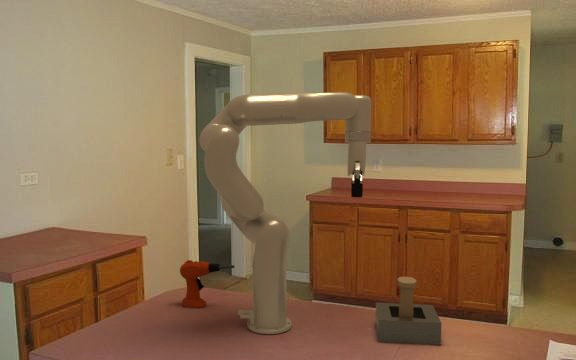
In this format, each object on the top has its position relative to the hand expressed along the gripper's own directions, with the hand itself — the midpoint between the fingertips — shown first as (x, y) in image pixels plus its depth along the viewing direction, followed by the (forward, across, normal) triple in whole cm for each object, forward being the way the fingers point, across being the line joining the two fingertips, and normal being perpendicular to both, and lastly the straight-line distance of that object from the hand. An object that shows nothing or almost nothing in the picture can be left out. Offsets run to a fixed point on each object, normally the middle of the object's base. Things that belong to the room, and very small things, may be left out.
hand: (356, 195), depth 152 cm
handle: (+36, +14, +14) cm, 41 cm away
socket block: (+36, +14, +14) cm, 41 cm away
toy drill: (+36, 0, -46) cm, 59 cm away
